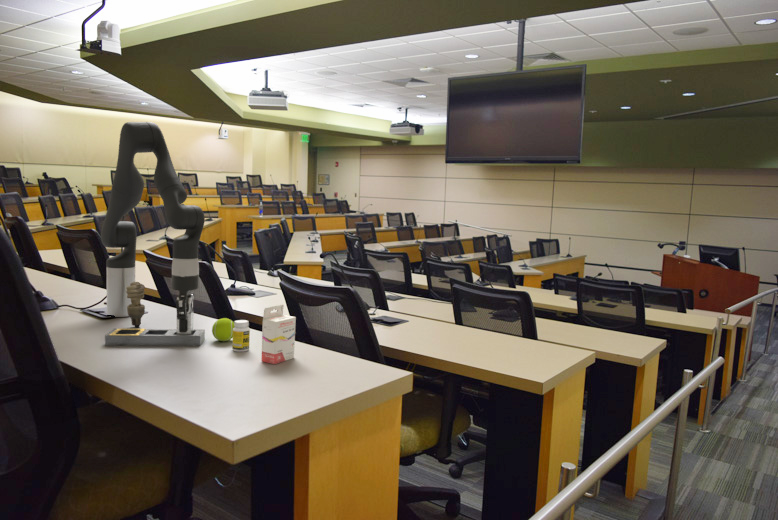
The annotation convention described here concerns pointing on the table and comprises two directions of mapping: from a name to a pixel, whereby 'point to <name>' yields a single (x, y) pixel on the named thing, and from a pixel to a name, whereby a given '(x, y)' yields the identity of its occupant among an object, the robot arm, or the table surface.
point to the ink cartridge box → (277, 335)
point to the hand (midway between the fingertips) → (185, 329)
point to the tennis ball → (223, 329)
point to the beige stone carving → (135, 302)
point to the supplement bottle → (241, 336)
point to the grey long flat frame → (153, 337)
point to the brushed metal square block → (190, 324)
